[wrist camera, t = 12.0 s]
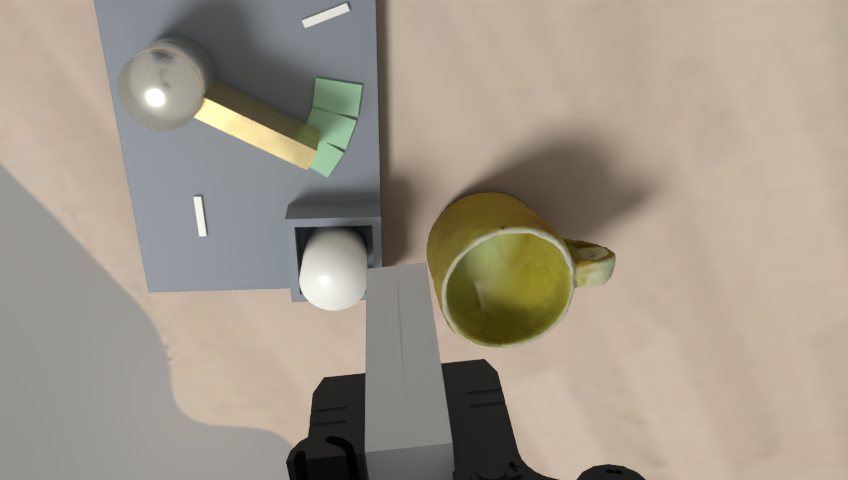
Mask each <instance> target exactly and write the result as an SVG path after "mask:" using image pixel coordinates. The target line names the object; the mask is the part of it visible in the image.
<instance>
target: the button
mask: <svg viewBox="0 0 848 480" xmlns="http://www.w3.org/2000/svg"><path fill="white" fill-rule="evenodd" d="M367 251H368V249H367V244H366V241H365V238H364V237H363V235H362V234H361V233H360V232H359V231H358V230H357V229H356V228H354V227H353V226H324V227H317V228H316V229H314V230H313V231H312V232H311V234H310V235H309V236H308V238H307V240H306V244H305V249H304V255H303V260H302V266H301V272H300V278H299V283H300V288H301V291H302V293H303V295H304V296H305V298H306V299H307V300H308V301H309V302H310V303H312V304H313V305H315V306H317V307H319V308H322V309H325V310H343V309H346V308H349V307H351V306H353V305H354V304H356V303H357V302H358V301H359V300H360V299H361V298H362V296H363V295H364V293H365V291H366V273H367Z"/></svg>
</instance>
